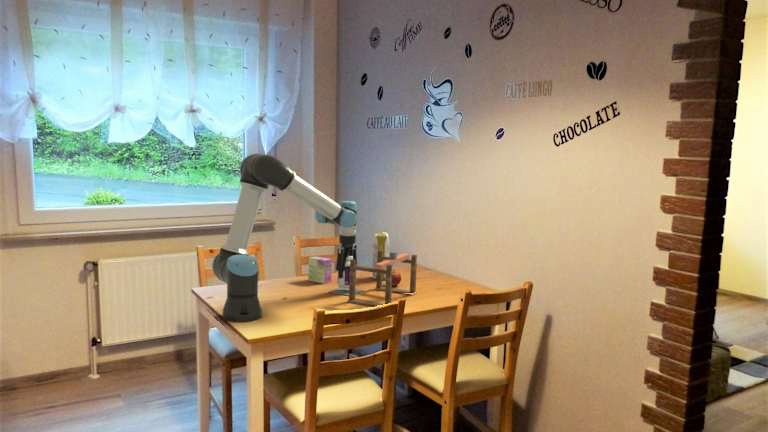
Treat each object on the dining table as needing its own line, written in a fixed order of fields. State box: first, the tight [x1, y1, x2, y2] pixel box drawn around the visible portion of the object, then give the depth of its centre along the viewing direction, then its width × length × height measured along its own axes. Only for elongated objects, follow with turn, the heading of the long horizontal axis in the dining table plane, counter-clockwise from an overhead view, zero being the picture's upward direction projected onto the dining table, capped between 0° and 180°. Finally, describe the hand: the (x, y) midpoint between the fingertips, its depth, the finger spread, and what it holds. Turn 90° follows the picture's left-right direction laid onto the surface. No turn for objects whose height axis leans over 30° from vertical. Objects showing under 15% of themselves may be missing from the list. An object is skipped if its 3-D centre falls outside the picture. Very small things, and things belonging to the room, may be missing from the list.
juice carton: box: [372, 231, 390, 281], centre depth 297 cm, size 9×8×24 cm
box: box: [307, 255, 333, 285], centre depth 287 cm, size 10×6×12 cm, turn 58°
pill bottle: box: [337, 255, 353, 288], centre depth 268 cm, size 8×8×14 cm
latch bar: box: [375, 251, 411, 270], centre depth 257 cm, size 29×3×5 cm, turn 154°
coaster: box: [328, 286, 365, 297], centre depth 270 cm, size 12×12×1 cm
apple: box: [384, 270, 402, 287], centre depth 284 cm, size 8×8×8 cm
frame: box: [347, 250, 418, 307], centre depth 260 cm, size 30×20×18 cm, turn 154°
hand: (346, 282), depth 269 cm, fingers closed on pill bottle, 8 cm apart
